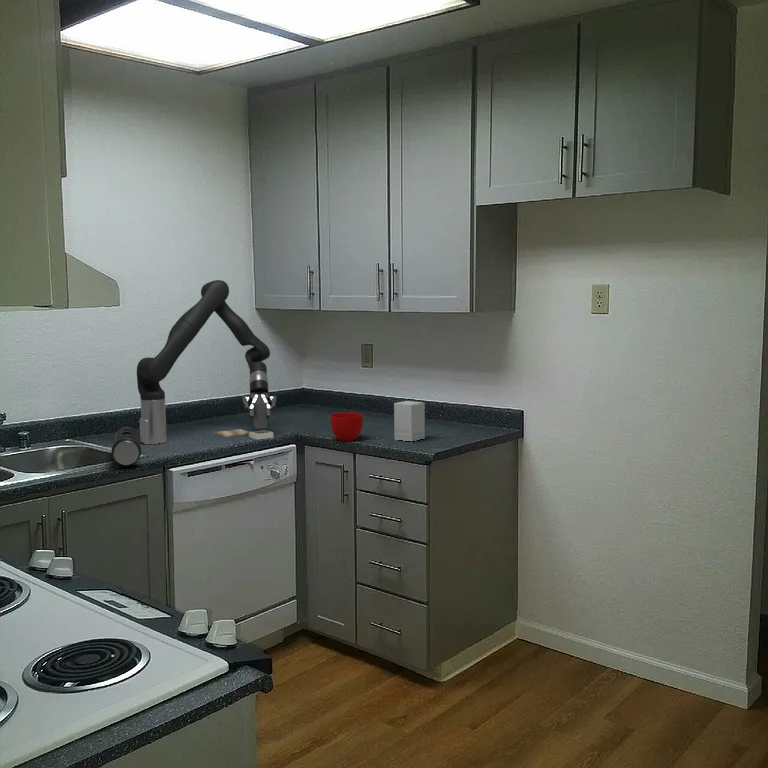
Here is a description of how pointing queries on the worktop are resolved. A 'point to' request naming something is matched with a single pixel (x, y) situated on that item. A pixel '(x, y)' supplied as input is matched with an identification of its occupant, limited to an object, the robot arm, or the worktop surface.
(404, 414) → the supplement box
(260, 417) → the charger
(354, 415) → the ceramic cup
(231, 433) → the oak board
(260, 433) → the socket dock
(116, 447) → the muzzle brake
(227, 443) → the worktop surface
